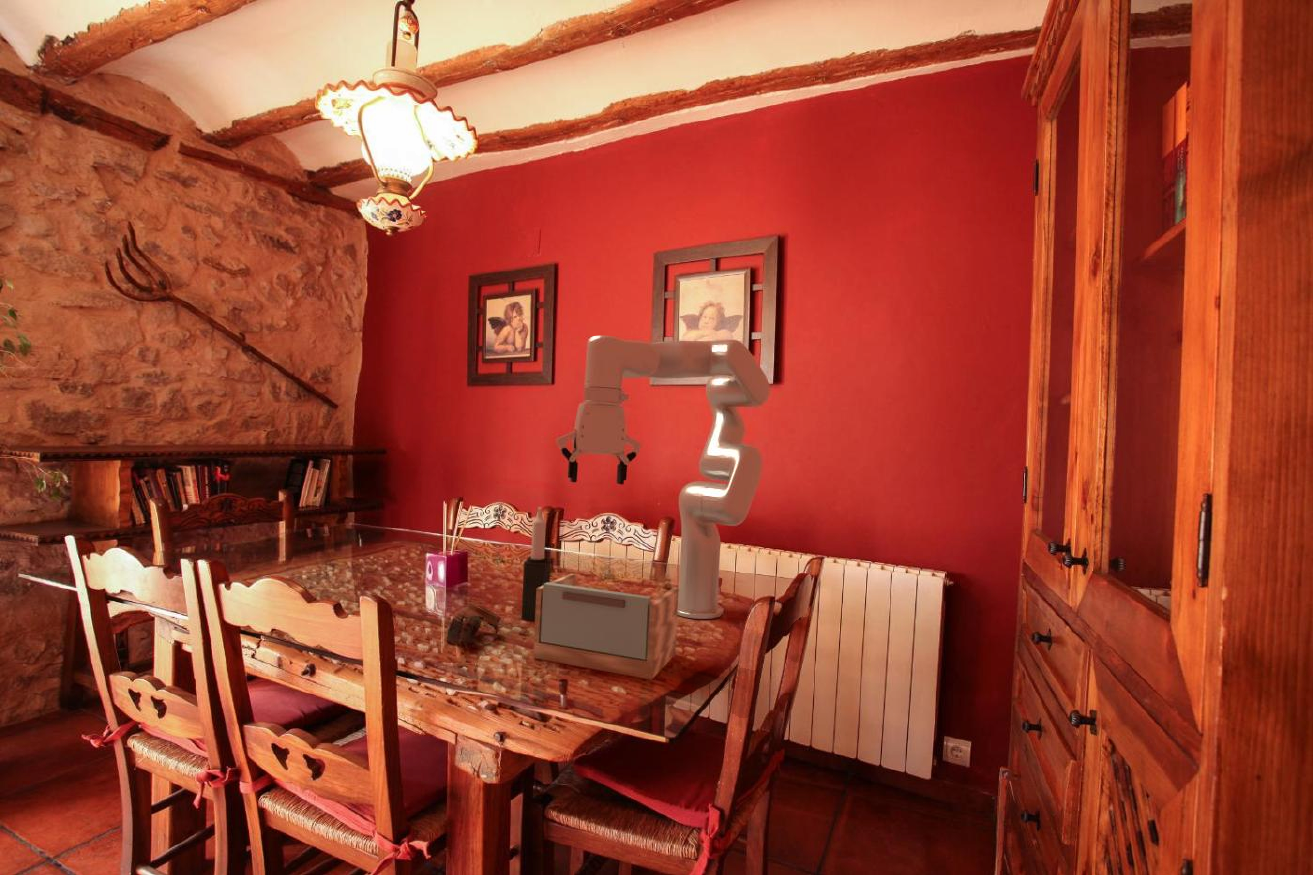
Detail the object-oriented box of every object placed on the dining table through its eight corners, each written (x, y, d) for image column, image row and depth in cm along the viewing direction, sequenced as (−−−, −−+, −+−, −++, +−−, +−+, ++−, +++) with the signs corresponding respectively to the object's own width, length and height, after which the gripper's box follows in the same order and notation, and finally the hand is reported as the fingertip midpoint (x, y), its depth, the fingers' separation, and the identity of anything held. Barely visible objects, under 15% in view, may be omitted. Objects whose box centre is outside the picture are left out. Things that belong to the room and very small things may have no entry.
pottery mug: (444, 635, 128) (466, 598, 131) (485, 656, 129) (506, 619, 132) (438, 639, 117) (461, 598, 119) (483, 662, 118) (506, 621, 120)
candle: (541, 621, 138) (546, 509, 138) (519, 619, 139) (524, 507, 139) (549, 615, 143) (554, 506, 143) (528, 613, 144) (533, 504, 144)
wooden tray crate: (567, 636, 130) (570, 573, 130) (675, 654, 122) (678, 587, 122) (533, 658, 117) (536, 588, 117) (651, 679, 109) (655, 605, 109)
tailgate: (544, 639, 118) (547, 582, 117) (648, 656, 111) (650, 596, 111) (539, 642, 116) (541, 584, 115) (643, 660, 109) (646, 599, 109)
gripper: (638, 402, 133) (632, 483, 132) (556, 395, 127) (551, 479, 127) (649, 400, 125) (643, 486, 125) (563, 393, 120) (557, 482, 120)
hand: (596, 482), depth 126 cm, fingers open, 9 cm apart
